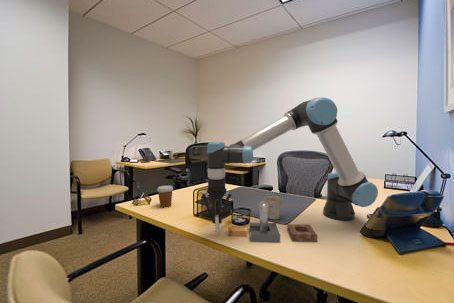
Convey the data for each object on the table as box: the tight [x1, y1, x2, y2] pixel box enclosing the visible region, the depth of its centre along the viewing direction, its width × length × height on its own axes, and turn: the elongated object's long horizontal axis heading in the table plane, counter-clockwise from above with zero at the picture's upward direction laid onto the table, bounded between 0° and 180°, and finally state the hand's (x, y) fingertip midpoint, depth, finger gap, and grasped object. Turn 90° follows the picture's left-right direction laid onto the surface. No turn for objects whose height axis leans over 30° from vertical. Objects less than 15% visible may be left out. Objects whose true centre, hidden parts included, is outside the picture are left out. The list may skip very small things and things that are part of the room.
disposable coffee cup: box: [156, 185, 174, 208], centre depth 136 cm, size 10×10×12 cm
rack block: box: [286, 223, 318, 243], centre depth 96 cm, size 10×10×3 cm
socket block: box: [248, 222, 281, 243], centre depth 97 cm, size 12×12×3 cm
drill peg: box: [259, 202, 269, 231], centre depth 96 cm, size 4×4×14 cm
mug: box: [257, 196, 283, 220], centre depth 117 cm, size 8×13×10 cm, turn 78°
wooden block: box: [227, 224, 247, 237], centre depth 97 cm, size 8×3×4 cm, turn 86°
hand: (217, 230), depth 98 cm, fingers closed
